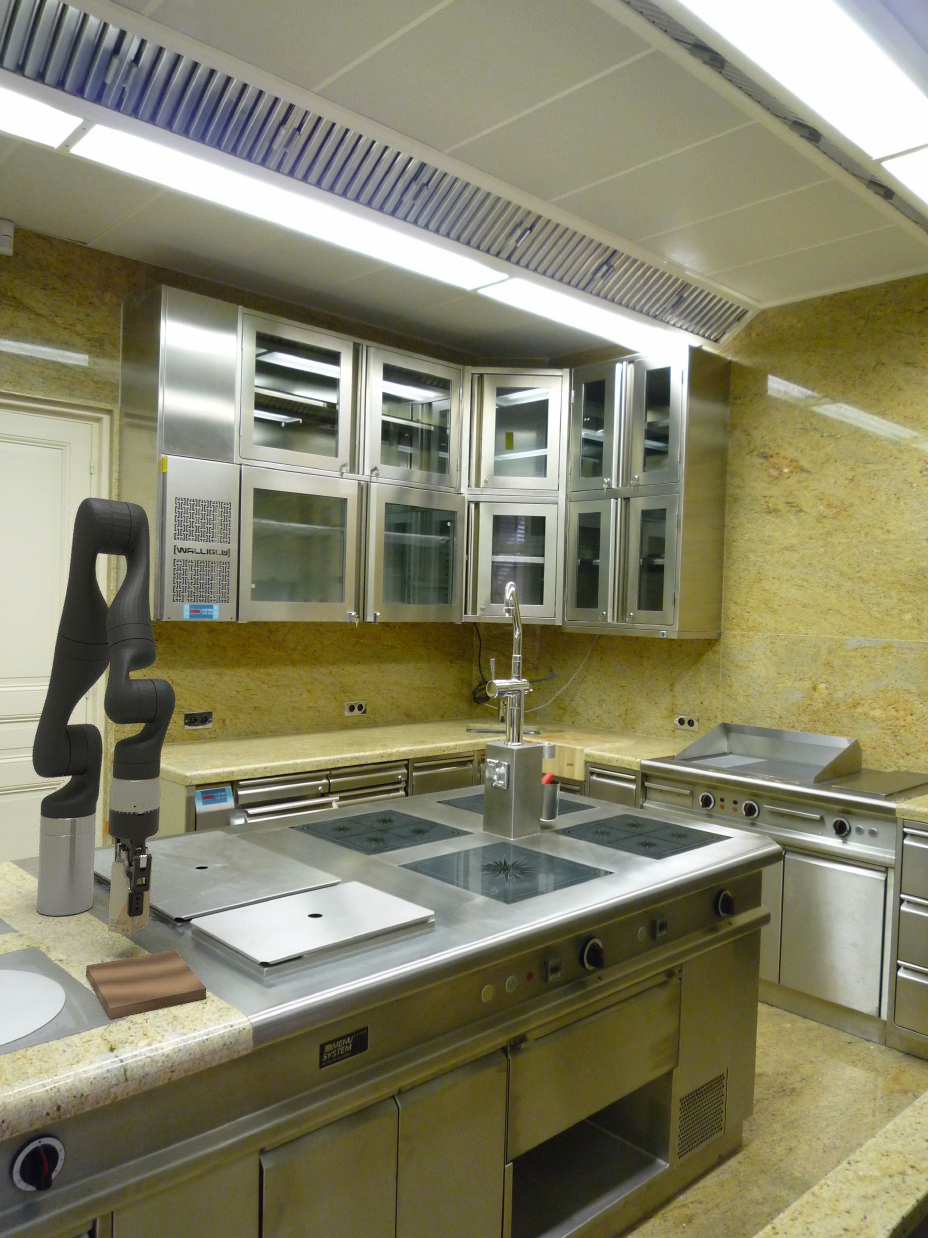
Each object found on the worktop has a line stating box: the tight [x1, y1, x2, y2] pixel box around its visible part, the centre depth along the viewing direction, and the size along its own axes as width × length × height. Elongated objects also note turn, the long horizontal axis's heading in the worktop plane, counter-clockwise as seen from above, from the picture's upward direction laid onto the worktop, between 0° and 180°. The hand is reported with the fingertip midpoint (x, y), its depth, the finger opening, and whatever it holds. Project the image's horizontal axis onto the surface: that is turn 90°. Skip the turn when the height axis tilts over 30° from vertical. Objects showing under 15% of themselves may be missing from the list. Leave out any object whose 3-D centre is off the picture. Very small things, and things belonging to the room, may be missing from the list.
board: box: [85, 949, 207, 1020], centre depth 128 cm, size 16×13×2 cm
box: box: [107, 859, 153, 936], centre depth 140 cm, size 5×4×11 cm
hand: (129, 908), depth 140 cm, fingers closed on box, 6 cm apart
